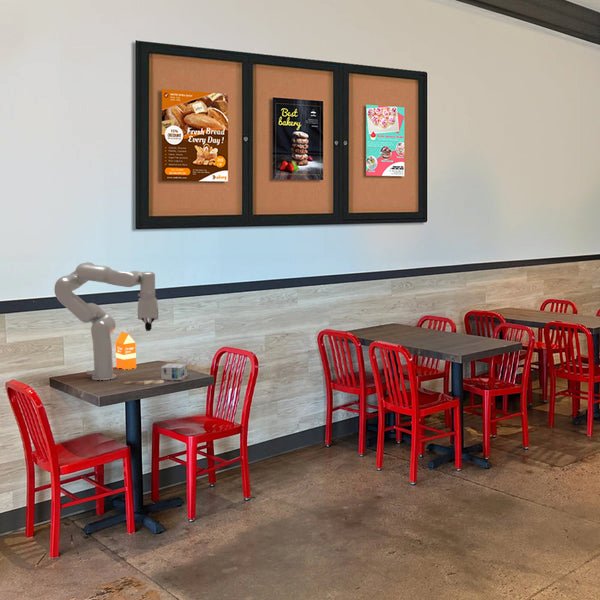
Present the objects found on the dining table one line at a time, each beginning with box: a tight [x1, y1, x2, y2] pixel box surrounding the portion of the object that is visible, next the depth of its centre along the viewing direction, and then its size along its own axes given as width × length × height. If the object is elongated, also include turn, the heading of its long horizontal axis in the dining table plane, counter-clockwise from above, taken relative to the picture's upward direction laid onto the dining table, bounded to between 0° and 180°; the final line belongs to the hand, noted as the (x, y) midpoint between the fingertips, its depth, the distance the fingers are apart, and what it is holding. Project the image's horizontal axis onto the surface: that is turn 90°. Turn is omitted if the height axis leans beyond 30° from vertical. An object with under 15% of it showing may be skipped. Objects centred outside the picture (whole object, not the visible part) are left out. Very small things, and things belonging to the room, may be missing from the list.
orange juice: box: [115, 331, 137, 371], centre depth 422 cm, size 8×9×20 cm
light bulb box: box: [160, 363, 188, 380], centre depth 395 cm, size 11×7×11 cm
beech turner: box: [123, 379, 165, 386], centre depth 386 cm, size 20×6×1 cm, turn 102°
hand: (148, 330), depth 394 cm, fingers closed
